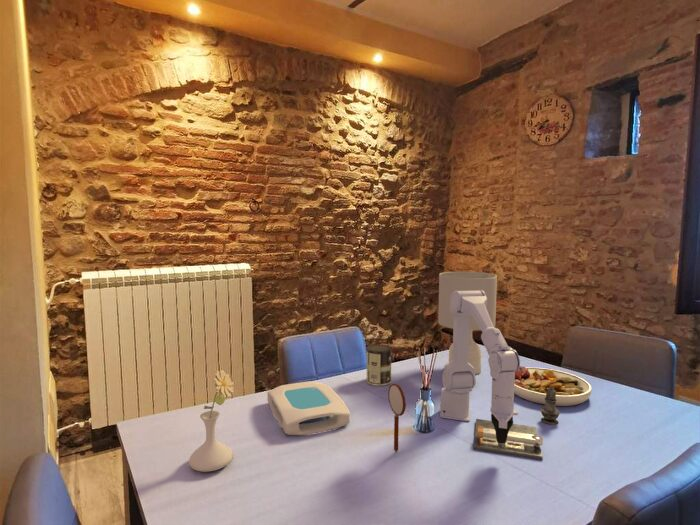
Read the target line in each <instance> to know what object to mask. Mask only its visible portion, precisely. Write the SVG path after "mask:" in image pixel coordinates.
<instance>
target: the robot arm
mask: <svg viewBox="0 0 700 525" xmlns="http://www.w3.org/2000/svg"><path fill="white" fill-rule="evenodd" d="M486 307H487V297H486V294H485V293H484V291H483V290H476V291H454V292H453V293H452V295H451V297H450V312H451V313H453V314H454V326H453V331H452V332H453V333H452V334H453V335H452V336H453V337H452V343H453V360H452V361H450V362H449V361H448V363H447V364H445V365H444V366H443V372H442V378H441V379H442V385H443V387H442V388H441V392H440V405H439V410H440V413H439V414H440V415H439V416H440V418H442V419H449V420H457V421H462V422H463V421H464V422H470V421H471V412H472V411H471V410H470V392H472V391H473V390H472V389H474V388H475V386H476V380H477V378H476V375H475V371H474V367H473V366H472V365H471V364H469V363H468V343H469V317H470V316H471V315H472V316H473V318H474V319H475V321H476V323H477V324H478V326H479V327H480V329H481V330H480V331H481V335H480V339H481V342H482V343H483V345H484V348H485V350H486V352H487V354H488V358H487V361H488V365H489V366H488V367H489V368H490V369H489V370H490V371H489V372H490V373H489V374H490V377H492V378H491V406H490V412H491V414H490V421H492V423H493V425H494V428H495V432H496V439H497V442H498V443H503V444H505V443H506V440H507V436H508V432H509V430H510V428H511V426H512V425H513V424H514V416H518V415H519V411H518V410H517V409H514V407H515V403H514V402H515V401H514V400H515V393H514V383H515V372H514V371H518V369H519V367H520V366H521V360H520V356H519V353H518V352H517V350H516V349H514V348H512V347H511V346H509V345H508V343H507V341H506V340H505V337H504V336H503V334H502V331H501V330H500V329H499V328H498V327H494V326H493V324H492V321H491V319H490V316H489V314H488V311H487V309H486Z"/></svg>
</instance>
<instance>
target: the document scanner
mask: <svg viewBox="0 0 700 525" xmlns="http://www.w3.org/2000/svg"><path fill="white" fill-rule="evenodd" d="M266 394H267V403H268V404H269V408H271V409H270V411H271V410H272V411H271V413H272V412H273V413H272V415H273V414H274V415H273V417H274V416H275V417H274V419H275V418H276V419H277V421H278V423H279V424H278V423H277V424H278V426H279V425H280V426H279V428H280V427H281V428H282V429H283V430H282V429H281V428H280V429H281V430H282V431H283V432H284V433H285V434H287V435H290V436H297V435H298V437H303V436H302V435H306V436H309V435H308V434H311V435H314V434H313V433H316V434H320V433H319V432H321V433H325V432H324V431H326V432H329V430H331V431H335V430H334V429H336V430H338V429H340V428H342V427H343V426H346V425H348V424H349V423H351V412H350V410H349V408H348V406H347V405H346V403H345V402H344V400H343V399H342V398H341V397H340V396H339V395H338V394H337V393H336V392H335V391H334V390H333V388H331V386H329V385H328V384H325V383H321V382H316V381H310V380H309V381H303V382H296V383H295V382H294V383H288V384H283V385H282V384H281V385H280V386H277V387H274V388H273V389H270V390H267V393H266ZM323 417H327V419H323V420H320V421H314V422H309V423H301V422H304V421H307V420H313V419H318V418H323ZM328 417H329V418H328ZM276 419H275V420H276ZM277 421H276V422H277Z"/></svg>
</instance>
